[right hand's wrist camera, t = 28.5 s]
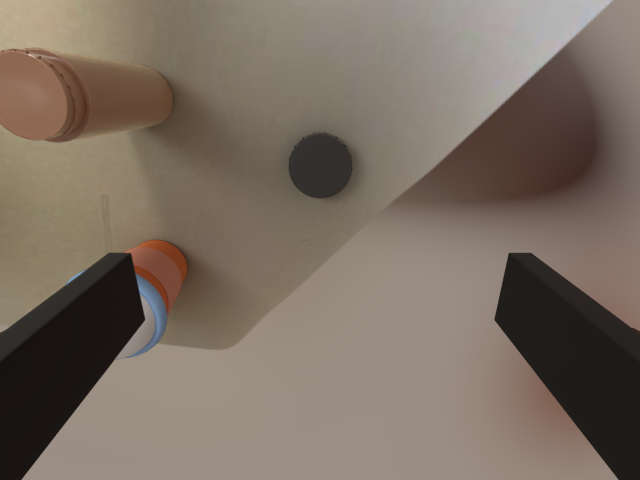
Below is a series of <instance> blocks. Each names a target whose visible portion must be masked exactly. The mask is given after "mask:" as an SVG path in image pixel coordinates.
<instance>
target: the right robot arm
mask: <svg viewBox="0 0 640 480" xmlns="http://www.w3.org/2000/svg"><path fill="white" fill-rule="evenodd" d="M144 321H145V315H144V310H143V306H142V301H141V296H140V292H139V287H138V283H137V278H136V273H135V269H134V264H133V259H132V255H131V253H108V254H107V255H106V256H104V257H103V258H102V259H100V260H99V261H98V262H96V263H95V264H94V265H92V266H91V267H90V268H88V269H87V270H86V271H84V272H83V273H81V274H80V275H79V276H77V277H76V278H75V279H73V280H72V281H71V282H69V283H68V284H67V285H65V286H64V287H63V288H61V289H60V290H59V291H57V292H56V293H55V294H53V295H52V296H51V297H49V298H48V299H47V300H45V301H44V302H43V303H41V304H40V305H39V306H37V307H36V308H35V309H33V310H32V311H31V312H29V313H28V314H27V315H25V316H24V317H23V318H21V319H20V320H19V321H17V322H16V323H15V324H13V325H12V326H11V327H9V328H8V329H7V330H5V331H3V332H1V333H0V480H22V478H23V477H24V476H25V474H26V473H27V472H28V470H29V469H30V468H31V467H32V465H33V464H34V463H35V461H36V460H37V459H38V458H39V456H40V455H41V454H42V452H43V451H44V450H45V449H46V447H47V446H48V445H49V443H50V442H51V441H52V440H53V438H54V437H55V436H56V434H57V433H58V432H59V431H60V429H61V428H62V427H63V425H64V424H65V423H66V422H67V420H68V419H69V418H70V416H71V415H72V414H73V413H74V411H75V410H76V409H77V407H78V406H79V405H80V404H81V402H82V401H83V400H84V398H85V397H86V396H87V395H88V393H89V392H90V391H91V389H92V388H93V387H94V385H95V384H96V383H97V382H98V380H99V379H100V378H101V377H102V375H103V374H104V373H105V371H106V370H107V369H108V368H109V366H110V365H111V364H112V362H113V361H114V360H115V359H116V357H117V356H118V355H119V353H120V352H121V351H122V350H123V348H124V347H125V346H126V344H127V343H128V342H129V341H130V339H131V338H132V337H133V335H134V334H135V333H136V332H137V330H138V329H139V328H140V326H141V325H142V324H143V323H144ZM495 321H496V322H497V324H498V325H499V326H500V328H501V329H502V330H503V332H504V333H505V334H506V335H507V337H508V338H509V339H510V340H511V342H512V343H513V344H514V346H515V347H516V348H517V350H518V351H519V352H520V353H521V355H522V356H523V357H524V358H525V360H526V361H527V362H528V364H529V365H530V366H531V368H532V369H533V370H534V371H535V373H536V374H537V375H538V377H539V378H540V379H541V380H542V382H543V383H544V384H545V386H546V387H547V388H548V389H549V391H550V392H551V393H552V395H553V396H554V397H555V398H556V400H557V401H558V402H559V404H560V405H561V406H562V407H563V409H564V410H565V411H566V413H567V414H568V415H569V416H570V418H571V419H572V420H573V422H574V423H575V424H576V425H577V427H578V428H579V429H580V431H581V432H582V433H583V434H584V436H585V437H586V438H587V440H588V441H589V442H590V443H591V445H592V446H593V447H594V449H595V450H596V451H597V452H598V454H599V455H600V456H601V458H602V459H603V460H604V461H605V463H606V464H607V465H608V467H609V468H610V469H611V471H612V472H613V473H614V474H615V476H616V477H617V478H618V480H640V331H638V330H636V329H634V328H631V327H629V326H628V325H627V324H625V323H624V322H623V321H621V320H620V319H619V318H617V317H616V316H615V315H613V314H612V313H611V312H609V311H608V310H607V309H605V308H604V307H603V306H601V305H600V304H599V303H597V302H596V301H595V300H593V299H592V298H591V297H589V296H588V295H587V294H585V293H584V292H583V291H581V290H580V289H579V288H577V287H576V286H575V285H573V284H572V283H570V282H569V281H568V280H566V279H565V278H564V277H562V276H561V275H560V274H558V273H557V272H556V271H554V270H553V269H552V268H550V267H549V266H548V265H546V264H545V263H544V262H542V261H541V260H540V259H538V258H537V257H536V256H534V255H533V254H532V253H509V255H508V259H507V264H506V269H505V273H504V278H503V283H502V287H501V292H500V296H499V301H498V306H497V310H496V315H495Z"/></svg>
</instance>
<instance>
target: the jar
mask: <svg viewBox="0 0 640 480" xmlns="http://www.w3.org/2000/svg"><path fill="white" fill-rule="evenodd" d="M172 108H173V94H172V91H171V88H170V86H169V84H168V82H167V81H166V79H165V78H164V77H163V76H162V75H161V74H160V73H159V72H157V71H156V70H154V69H152V68H150V67H147V66H142V65H136V64H131V63H125V62H119V61H113V60H107V59H101V58H95V57H89V56H83V55H77V54H71V53H65V52H59V51H53V50H47V49H41V48H26V49H22V50H19V49H9V50H4V51H2V50H1V51H0V124H1V125H2V126H3V127H5V128H6V129H7V130H9V131H10V132H12V133H14V134H15V135H18V136H20V137H22V138H26V139H30V140H45V141H49V142H57V143H60V142H68V141H74V140H79V139H84V138H90V137H95V136H101V135H106V134H112V133H117V132H123V131H128V130H134V129H139V128H145V127H150V126H155V125H158V124H161V123H162V122H164V121H165V120H166V119H167V118H168V117H169V115H170V113H171V111H172Z"/></svg>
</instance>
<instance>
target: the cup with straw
mask: <svg viewBox="0 0 640 480" xmlns="http://www.w3.org/2000/svg"><path fill="white" fill-rule="evenodd" d="M123 253H131V255H132V259H133V264H134V269H135V273H136V278H137V283H138V287H139V292H140V296H141V301H142V306H143V310H144V315H145V321H144V323H143V324H142V325H141V326H140V328H139V329H138V330H137V332H136V333H135V334H134V335H133V337H132V338H131V339H130V341H129V342H128V343H127V344H126V346H125V347H124V348H123V350H122V351H121V352H120V353H119V355H118V356H117V357H116V359H115V360H118V359H122V358H129V357H134V356H137V355H140V354H143V353H145V352H147V351H148V350H150V349H151V348H152V347H153V346H155V345H156V344H157V343H158V341H159V340H160V339H161V337H162V336H163V334H164V331H165V329H166V325H167V316H168V314H169V312H170V310H171V308H172V306H173V304H174V302H175V300H176V298H177V296H178V294H179V292H180V290H181V285H182V283H183V281H184V279H185V276H186V273H187V263H186V260H185V258H184V256H183V254H182V253H181V252H180V251H179V250H178V249H177V248H176V247H175V246H173V245H172V244H170V243H168V242H165V241H160V240H151V241H147V242H144V243H142V244H140V245H139V246H137V247H135V248H132V249H129V250H127V251H125V252H123ZM86 270H87V269H86ZM86 270H84V271H86ZM84 271H81V272H80V273H78V274H76V275H75V276H74V277H72V278H71V279H70V280H69V281H68V282H67V284H68V283H69V282H71V281H72V280H73V279H75V278H76V277H77V276H79V275H80V274H81V273H83V272H84ZM67 284H66V285H67Z"/></svg>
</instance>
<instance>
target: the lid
mask: <svg viewBox="0 0 640 480" xmlns="http://www.w3.org/2000/svg"><path fill="white" fill-rule="evenodd" d="M289 159H290V161H289V172H290V176H291V179H292V181H293V183H294V184H295V186H296V187H297V188H298V189H299V190H300V191H301V192H303V193H304V194H306V195H308V196H311V197H314V198H327V197H330V196H333V195H335V194H337V193H338V192H340V191H341V190H342V189H343V188H344V187H345V186H346V184H347V183H348V181H349V179H350V176H351V171H352V161H351V156H350V154H349V152H348V150H347V148H346V145H344V144H343V143H342V142H341V141H340V140H339V139H338V138H337V137H334V136H332V135H329V134H326V133H316V134H315V133H313V134H312V135H309V136H307V137H305V138H304V137H303V139H302V140H301V141H300V142H299V143H298V144H297V145H295V147H294V150H293V152H292V154H291V156H290V158H289Z"/></svg>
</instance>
